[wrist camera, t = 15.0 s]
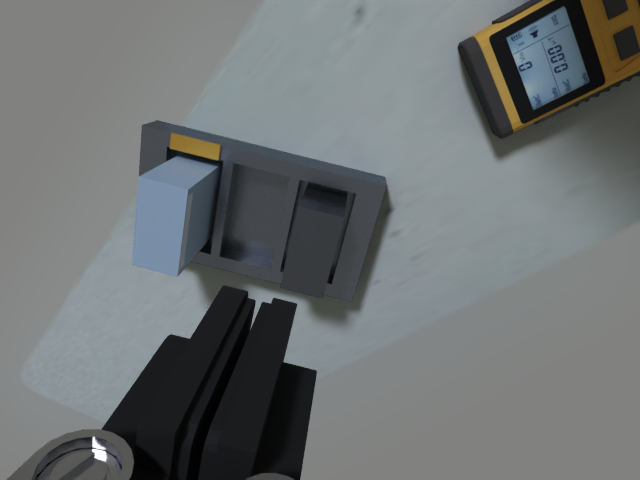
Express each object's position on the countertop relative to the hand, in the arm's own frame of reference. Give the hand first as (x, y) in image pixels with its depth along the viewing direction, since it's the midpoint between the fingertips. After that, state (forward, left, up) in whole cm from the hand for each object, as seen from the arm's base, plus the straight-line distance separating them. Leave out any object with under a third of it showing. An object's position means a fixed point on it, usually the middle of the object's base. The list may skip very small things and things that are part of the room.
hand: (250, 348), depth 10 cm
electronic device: (-11, +16, -30) cm, 35 cm away
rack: (+8, -5, -29) cm, 31 cm away
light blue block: (+8, -10, -28) cm, 31 cm away
